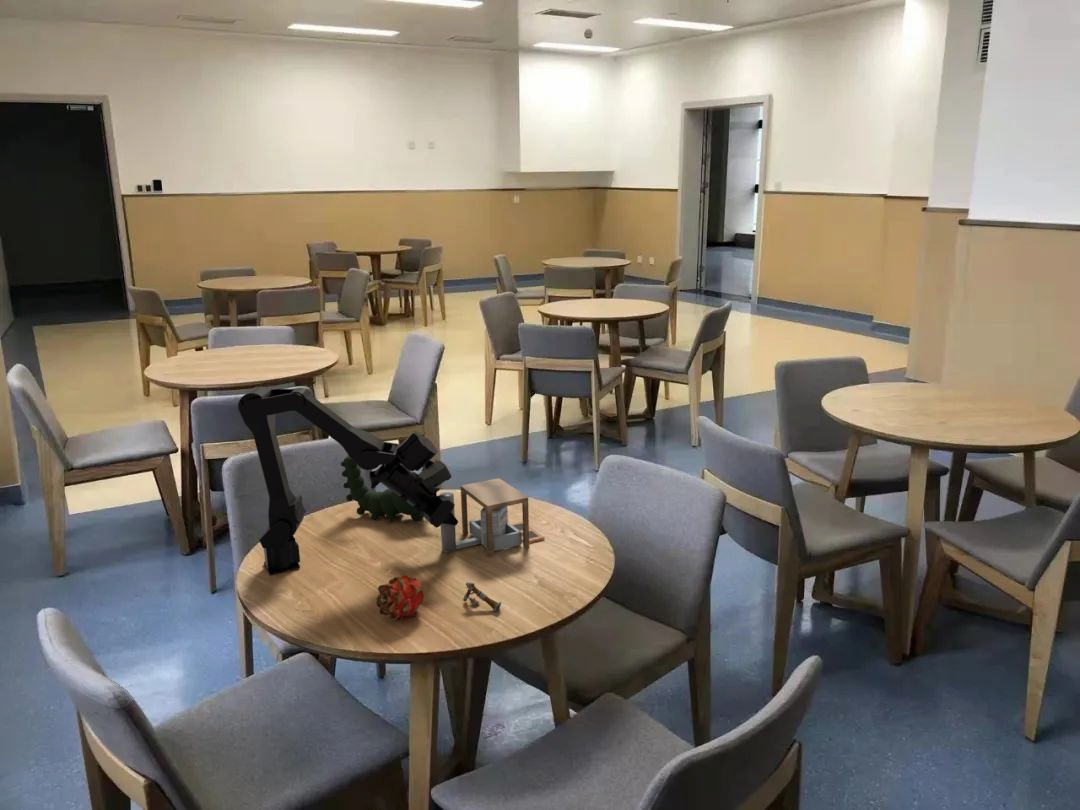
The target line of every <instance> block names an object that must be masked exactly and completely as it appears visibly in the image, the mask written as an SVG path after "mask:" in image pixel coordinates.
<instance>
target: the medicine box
mask: <svg viewBox="0 0 1080 810" xmlns="http://www.w3.org/2000/svg"><path fill="white" fill-rule="evenodd" d="M508 511H509V510H508V506H506V507H501V508H496V509H492V532H493V537H496V536H500V535H504V534H507V530H506V523H507V522H509V515H508ZM480 519H481V534H482V543H481V545H482V546H484V538H483V533H486V509H485V508H484V507H483V506H482V508H481V510H480Z"/></svg>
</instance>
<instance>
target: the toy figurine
mask: <svg viewBox="0 0 1080 810" xmlns="http://www.w3.org/2000/svg"><path fill="white" fill-rule="evenodd" d="M340 466H341V467H344V470H343V471H342V472H341V476H342V477H344V478H347V480H346V482H344V483H343V485H342V486H343V488H344V489H349V491H350V492H349V494H347V495H346V496H345V499H346V501H348V502H351V501H353V500H354V501H355V502H357V504H358V506H359V507H357V508H356V513H357V515H359V516H363V515H364V514H366V513H365V512H368V513H369V514H370V518H371V520H372V521H374V520H375V521H378V520H379V519H380V517H383V516H385V518H386V520H387V521H390V522H393V521H394V520H395V519H396V518H397V516H398V515H400V514H403V515H404V516H405V515H406V516H410V518H411V520H412V521H413V522H415V523H419V522H421V521H422V520H424V519H425V515H424V512H420V511H417V510H416V509H415V508H414V507H413V506H412V505H410V504H409V503H408V502H405V501H404V500H403V499H401V498H400V497H399V496H398V495H397V494H396V493H394V492H393V491H391V490H390V489H389V488H387V489H385V490H383V491H372V490H370V489H369V487H368V486H367V484H366V483H365V478H364V476H362V475H361V472H362V471H361V468H360V467H359V466H358V465H357V464H356V463H355V462H354V461H353V460H352V459H351V458H350V457H349V456H348V455H347V456H346V457H344V460H343V461H341V463H340ZM434 488H435V489H437V493H438V492H439V491H440V490H441V488H440V487H439V486H437V487H434Z"/></svg>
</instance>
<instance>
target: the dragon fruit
mask: <svg viewBox="0 0 1080 810" xmlns="http://www.w3.org/2000/svg"><path fill="white" fill-rule="evenodd" d="M377 590H378V593H379V595H377V597H376V607H377V608H379V613H380V615H384V616H388V615H390V616H389V619H390V620H393V621H394V620H395V621H401V620H402V619H403V617H407V618H408V617H409V618H411V617H413V618H415V617H416V616H417V615H418V612H417V610H418V609H419V607H420V606H421V604H422V603H423V602H424V599H425V592H424V591H423V589H422V584H421V581H420V579H419V578H417V577H416V576H414V577H411V575H409V574H406V573H405V574H403V575H401V577H399V576H396V577H393V578H391V579H389V580H388V583H386V584H381V585H379V586H378V587H377Z"/></svg>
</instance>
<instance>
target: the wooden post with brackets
mask: <svg viewBox="0 0 1080 810" xmlns="http://www.w3.org/2000/svg"><path fill="white" fill-rule="evenodd" d="M465 586H466V589H467V591H466V593H465V595H464V596H463V598H462V600H463V601H464V602H466V601H468V599H469V601H470V603H469V604H470V605H471V604H472V605H473V606H474V607H479V606H480V605H481V604H480V603H479V600H477V599H476V597H478V599H480V600H481V601H483V602H485V603H486V604H487V605H488V606H489V607H490V608H492V612H493V613H495V612H496V611H497V610H498V609H500V608H501V605H502V604H503V602H502V601H499V602H498V601H496V600H494V599H492V598H490V597H488V595H487V594H485V593H484V591H482V590H480V589H478V587H477V586H476V585H475V583H472V582H471V581H470V582H469V581H467V582H466V583H465ZM474 594H475V595H476V597H474V598H473V597H470V595H474Z"/></svg>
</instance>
